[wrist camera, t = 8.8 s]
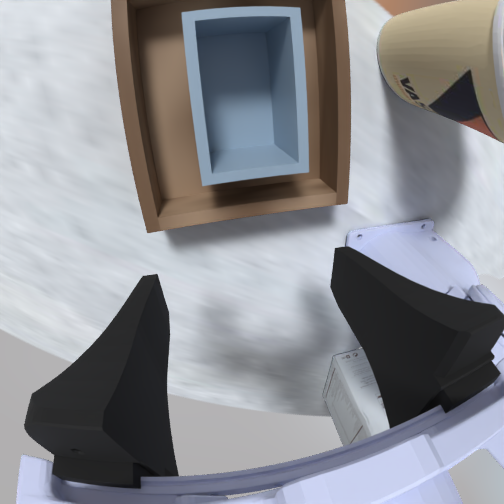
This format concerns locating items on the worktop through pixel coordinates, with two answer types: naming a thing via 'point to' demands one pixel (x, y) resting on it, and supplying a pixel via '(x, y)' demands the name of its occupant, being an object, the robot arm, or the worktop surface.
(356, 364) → the supplement box
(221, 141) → the slate crate
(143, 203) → the walnut crate
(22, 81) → the worktop surface
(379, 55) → the coffee cup
